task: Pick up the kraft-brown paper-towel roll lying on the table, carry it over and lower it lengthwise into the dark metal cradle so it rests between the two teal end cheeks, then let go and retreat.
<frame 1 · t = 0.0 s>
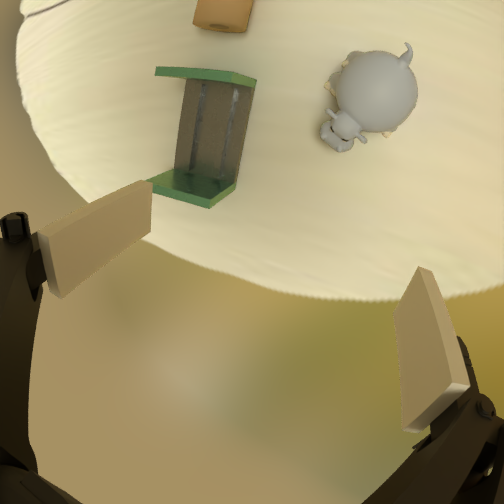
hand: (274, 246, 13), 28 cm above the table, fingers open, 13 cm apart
holder: (212, 129, 39), on the table
hippopotamus toy: (365, 100, 32), on the table
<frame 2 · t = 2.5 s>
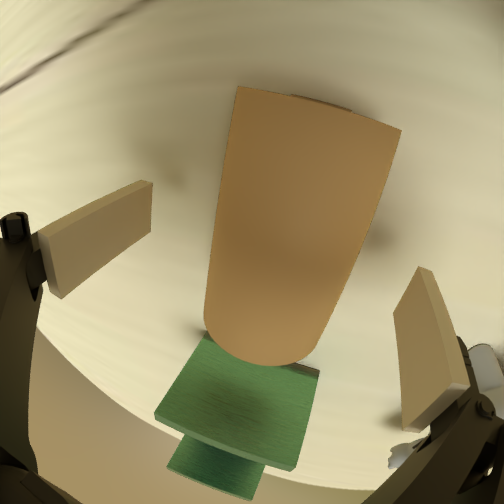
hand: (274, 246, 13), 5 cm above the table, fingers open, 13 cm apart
holder: (246, 398, 28), on the table
roll: (301, 205, 17), on the table
hippopotamus toy: (457, 393, 20), on the table
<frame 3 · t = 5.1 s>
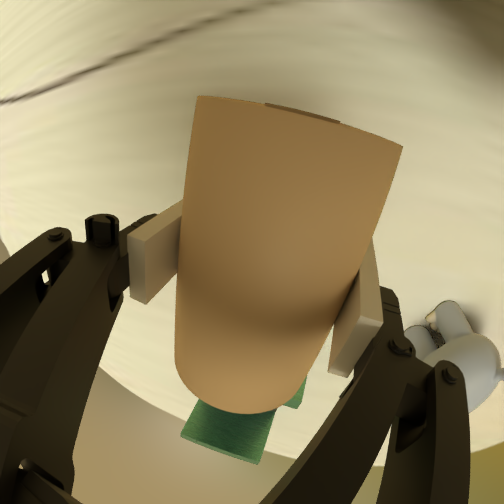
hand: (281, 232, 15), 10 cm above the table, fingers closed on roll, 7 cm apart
holder: (252, 365, 33), on the table
roll: (279, 230, 15), point 9 cm above the table, touching gripper
hippopotamus toy: (434, 350, 26), on the table
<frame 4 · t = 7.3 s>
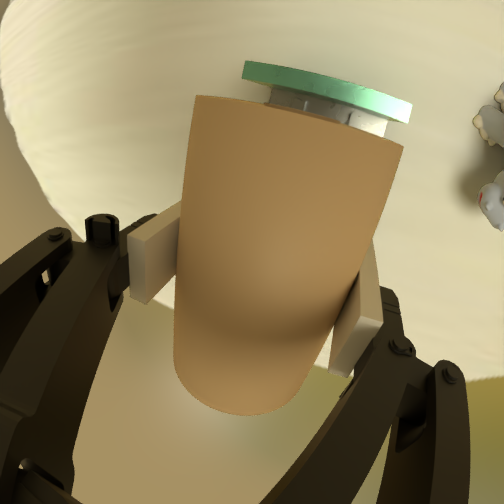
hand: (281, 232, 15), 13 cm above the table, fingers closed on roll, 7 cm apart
holder: (311, 175, 26), on the table
roll: (278, 231, 15), point 13 cm above the table, touching gripper
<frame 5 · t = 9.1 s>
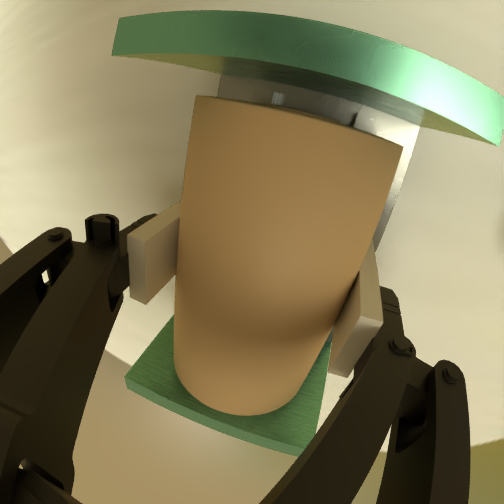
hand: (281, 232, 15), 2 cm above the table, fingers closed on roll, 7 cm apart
holder: (290, 216, 16), on the table
roll: (278, 231, 15), point 2 cm above the table, touching gripper
when the fingers open (2 cm above the table, at t = 10.0 s): roll stays where it is, resting on holder.
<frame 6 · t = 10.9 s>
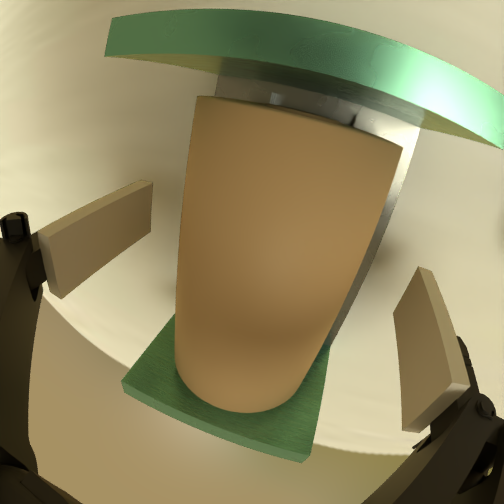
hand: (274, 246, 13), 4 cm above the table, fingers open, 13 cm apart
holder: (288, 219, 16), on the table
roll: (279, 229, 15), point 1 cm above the table, touching holder
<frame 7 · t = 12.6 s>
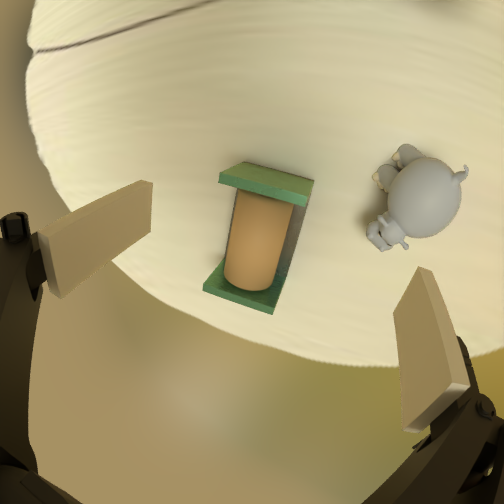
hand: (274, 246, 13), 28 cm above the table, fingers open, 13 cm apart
holder: (266, 224, 43), on the table
roll: (262, 227, 42), point 1 cm above the table, touching holder
hippopotamus toy: (406, 194, 35), on the table
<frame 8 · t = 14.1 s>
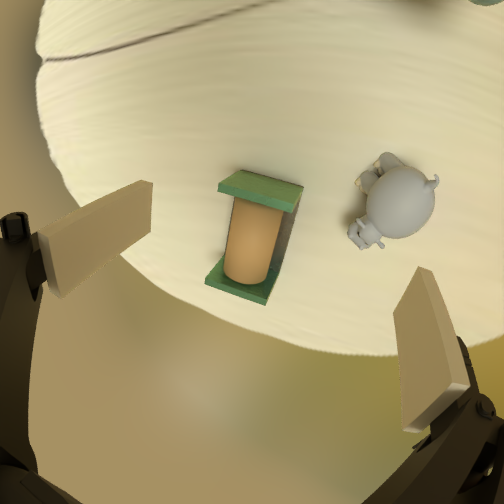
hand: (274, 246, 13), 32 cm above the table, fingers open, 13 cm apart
holder: (261, 225, 48), on the table
roll: (257, 228, 47), point 1 cm above the table, touching holder
hippopotamus toy: (387, 197, 40), on the table
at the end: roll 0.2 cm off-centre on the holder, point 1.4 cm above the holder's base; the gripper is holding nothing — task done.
